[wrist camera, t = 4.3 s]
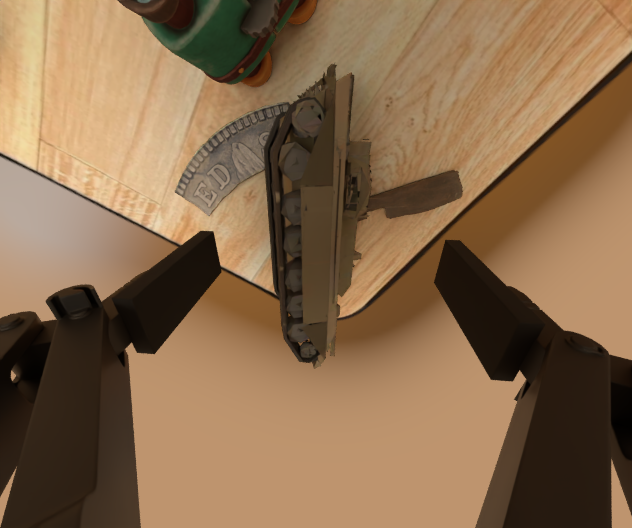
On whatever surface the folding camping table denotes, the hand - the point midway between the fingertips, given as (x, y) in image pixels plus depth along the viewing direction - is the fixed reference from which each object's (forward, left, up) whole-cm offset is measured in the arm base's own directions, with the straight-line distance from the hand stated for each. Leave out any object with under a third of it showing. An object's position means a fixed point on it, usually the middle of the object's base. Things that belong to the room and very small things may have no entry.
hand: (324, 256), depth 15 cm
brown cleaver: (-6, -3, -8) cm, 10 cm away
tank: (+2, +4, -3) cm, 5 cm away
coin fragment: (+6, +3, -9) cm, 11 cm away
